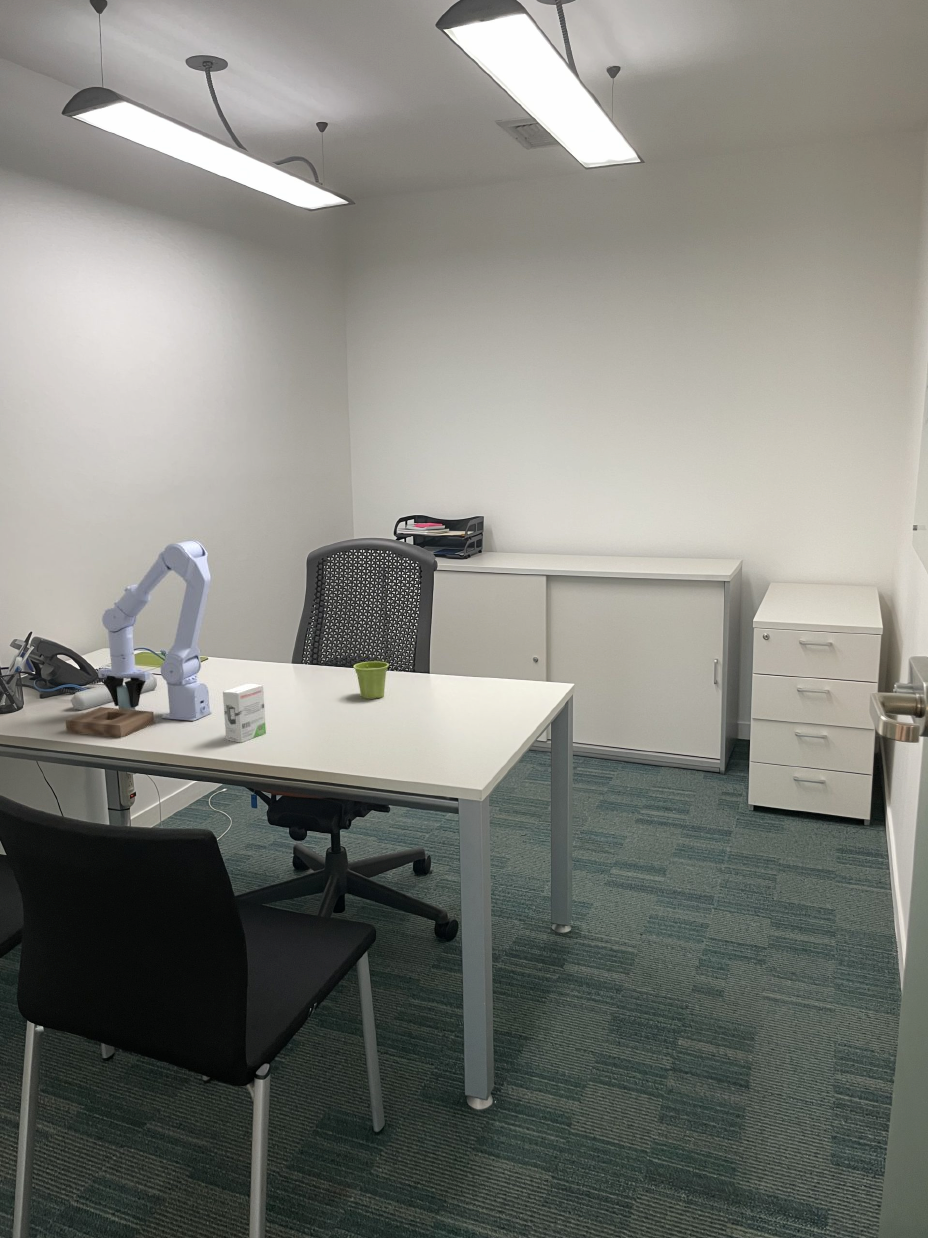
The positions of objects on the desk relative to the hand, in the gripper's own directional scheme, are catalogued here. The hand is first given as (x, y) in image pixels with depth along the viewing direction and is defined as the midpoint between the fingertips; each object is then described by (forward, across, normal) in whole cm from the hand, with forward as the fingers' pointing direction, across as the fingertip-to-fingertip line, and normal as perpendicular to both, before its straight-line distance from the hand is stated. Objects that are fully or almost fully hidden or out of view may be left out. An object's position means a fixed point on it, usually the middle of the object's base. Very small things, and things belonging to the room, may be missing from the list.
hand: (126, 705), depth 236 cm
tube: (+2, +12, -10) cm, 16 cm away
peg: (+2, 0, 0) cm, 2 cm away
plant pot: (+2, -54, -32) cm, 63 cm away
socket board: (+2, -5, +12) cm, 13 cm away
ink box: (+2, -41, +9) cm, 42 cm away
